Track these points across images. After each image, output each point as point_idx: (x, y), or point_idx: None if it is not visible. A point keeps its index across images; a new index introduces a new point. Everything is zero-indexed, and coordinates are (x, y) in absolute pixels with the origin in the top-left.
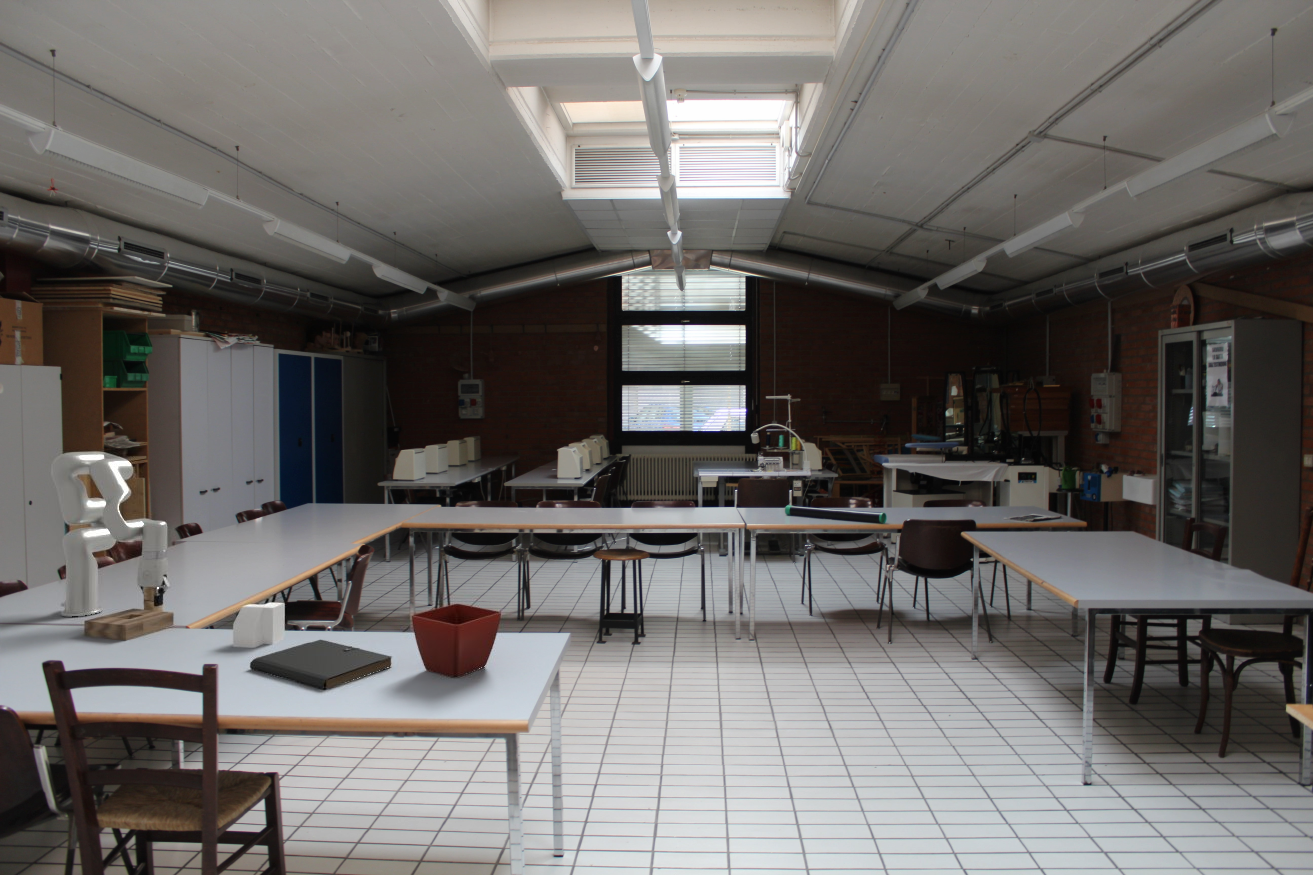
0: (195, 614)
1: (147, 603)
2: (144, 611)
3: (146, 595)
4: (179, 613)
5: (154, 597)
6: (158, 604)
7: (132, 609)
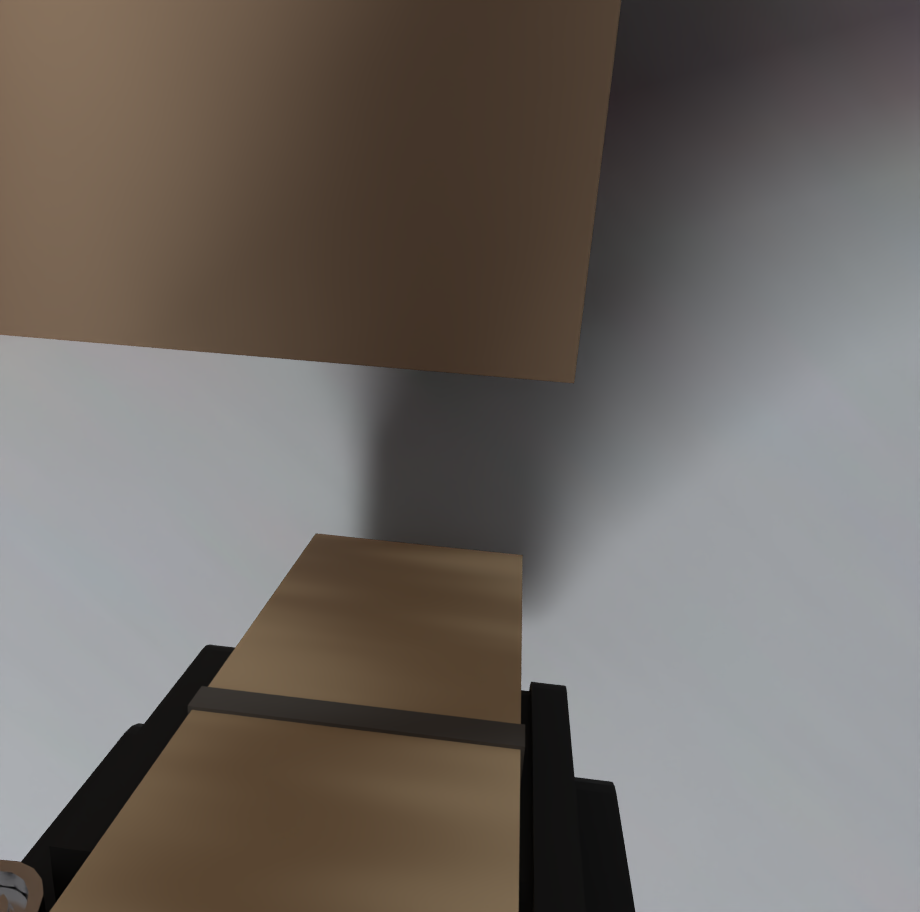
0: None
1: (403, 668)
2: (16, 176)
3: (414, 845)
4: None
5: (122, 797)
6: None
7: (505, 282)
